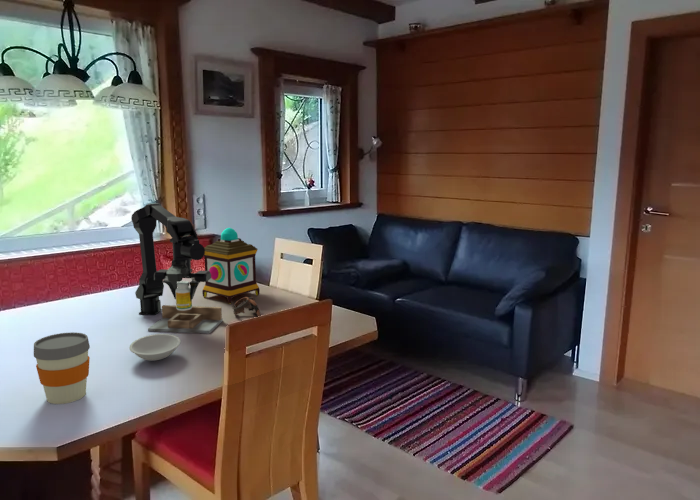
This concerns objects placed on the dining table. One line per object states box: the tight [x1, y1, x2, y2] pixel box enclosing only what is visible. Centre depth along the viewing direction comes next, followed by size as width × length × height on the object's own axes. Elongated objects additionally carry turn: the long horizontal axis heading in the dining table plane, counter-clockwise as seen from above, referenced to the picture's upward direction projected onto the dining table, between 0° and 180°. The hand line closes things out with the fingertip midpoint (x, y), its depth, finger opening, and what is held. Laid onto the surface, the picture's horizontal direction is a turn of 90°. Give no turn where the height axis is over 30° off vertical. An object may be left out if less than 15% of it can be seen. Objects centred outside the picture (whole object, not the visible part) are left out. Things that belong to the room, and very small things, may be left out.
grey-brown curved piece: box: [232, 296, 261, 317], centre depth 206 cm, size 12×10×8 cm
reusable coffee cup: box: [33, 331, 91, 405], centre depth 137 cm, size 13×13×15 cm
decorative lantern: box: [201, 227, 260, 305], centre depth 229 cm, size 20×20×30 cm
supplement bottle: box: [175, 280, 193, 311], centre depth 190 cm, size 5×5×10 cm
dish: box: [129, 333, 181, 362], centre depth 162 cm, size 18×14×5 cm
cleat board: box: [147, 304, 224, 335], centre depth 193 cm, size 22×14×6 cm, turn 85°
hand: (183, 299), depth 190 cm, fingers closed on supplement bottle, 5 cm apart
